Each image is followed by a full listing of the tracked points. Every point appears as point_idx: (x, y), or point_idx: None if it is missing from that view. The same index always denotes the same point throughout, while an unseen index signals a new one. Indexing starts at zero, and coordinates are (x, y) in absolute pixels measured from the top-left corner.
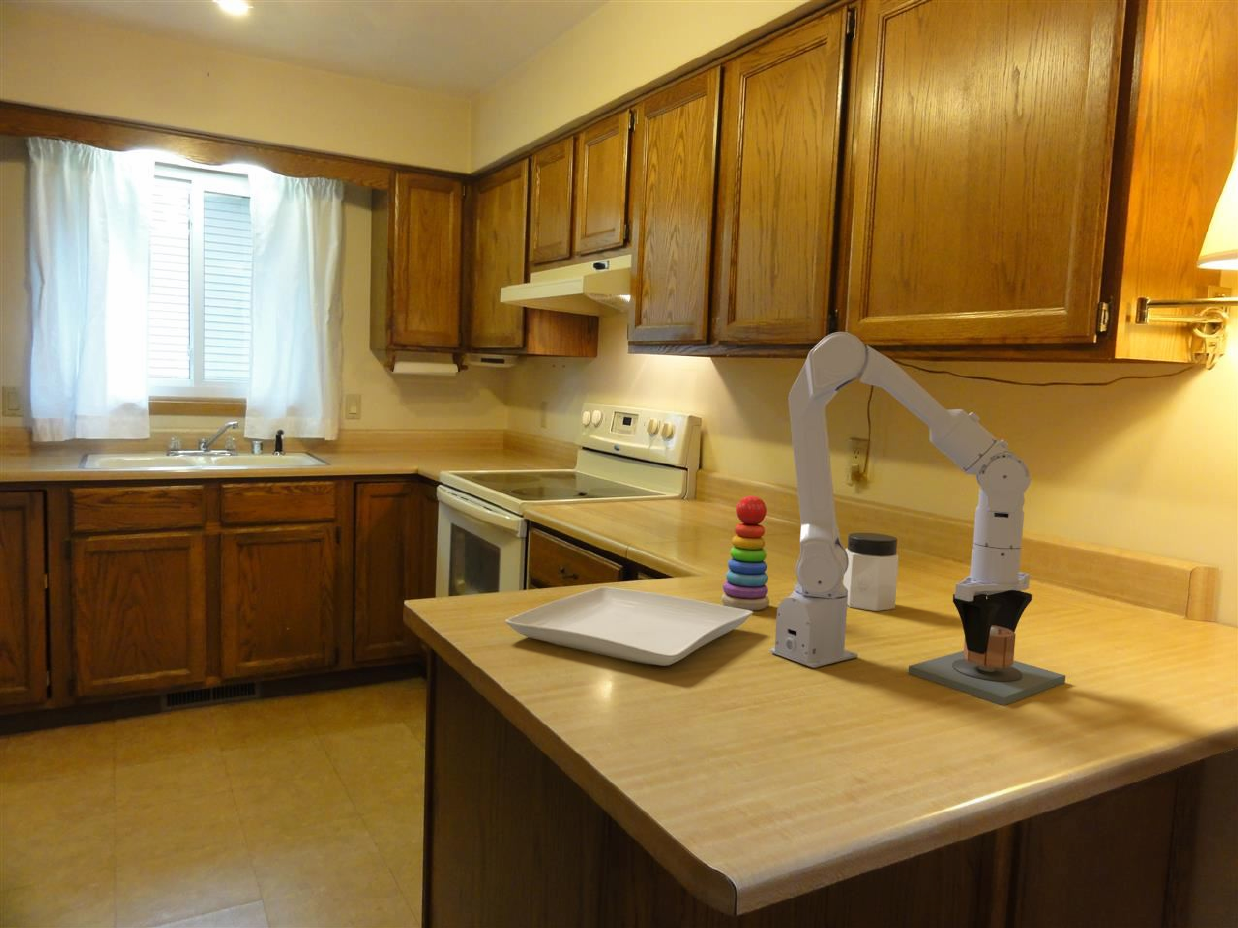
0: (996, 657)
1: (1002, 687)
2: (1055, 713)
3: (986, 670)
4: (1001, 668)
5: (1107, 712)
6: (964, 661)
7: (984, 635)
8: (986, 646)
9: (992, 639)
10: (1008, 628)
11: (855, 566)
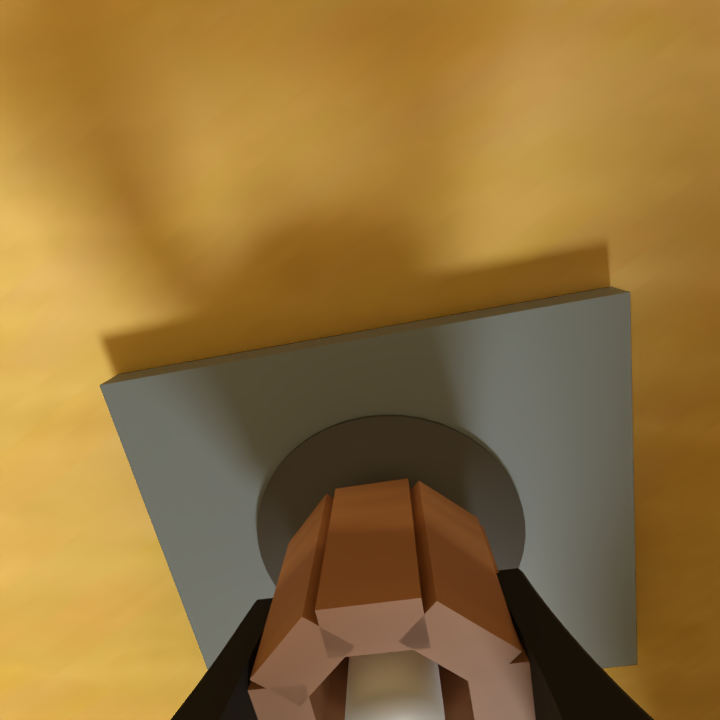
0: (450, 526)
1: (515, 380)
2: (483, 133)
3: None
4: None
5: (235, 46)
6: None
7: (586, 652)
8: (510, 594)
9: (494, 618)
10: (247, 696)
11: None
